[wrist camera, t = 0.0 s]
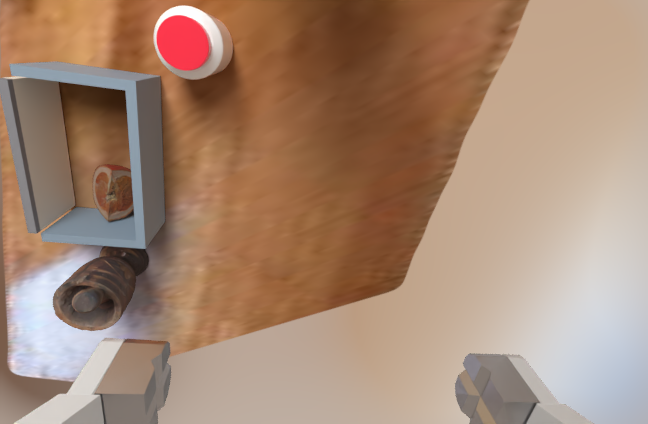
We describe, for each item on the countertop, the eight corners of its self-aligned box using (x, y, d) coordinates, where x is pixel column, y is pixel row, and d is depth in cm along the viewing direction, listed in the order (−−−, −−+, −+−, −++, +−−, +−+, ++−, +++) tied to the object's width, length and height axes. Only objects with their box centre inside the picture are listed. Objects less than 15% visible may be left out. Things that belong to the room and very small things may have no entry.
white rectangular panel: (49, 73, 49) (-3, 78, 40) (57, 74, 49) (7, 79, 40) (68, 204, 56) (28, 232, 47) (75, 205, 56) (36, 233, 47)
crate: (56, 61, 48) (9, 63, 40) (160, 76, 50) (135, 81, 42) (77, 213, 57) (42, 241, 49) (165, 221, 59) (145, 248, 51)
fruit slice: (141, 213, 58) (129, 227, 54) (96, 203, 57) (80, 216, 52) (148, 165, 55) (136, 175, 50) (101, 152, 54) (83, 162, 49)
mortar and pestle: (102, 212, 57) (16, 287, 39) (159, 224, 59) (101, 302, 41) (97, 272, 62) (17, 365, 43) (150, 282, 63) (95, 375, 45)
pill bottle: (242, 63, 50) (231, 66, 40) (192, 83, 51) (168, 92, 41) (216, 3, 47) (198, -10, 37) (163, 25, 48) (130, 19, 38)
